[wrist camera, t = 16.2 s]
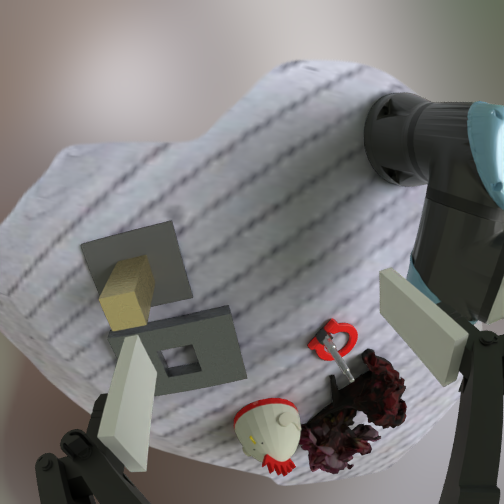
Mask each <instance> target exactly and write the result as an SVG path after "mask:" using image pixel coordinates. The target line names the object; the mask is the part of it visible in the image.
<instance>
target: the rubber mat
mask: <svg viewBox="0 0 504 504" xmlns="http://www.w3.org/2000/svg"><path fill="white" fill-rule="evenodd" d="M81 247H82V250H83V253H84V256H85V259H86V261H87V264H88V267H89V270H90V272H91V275H92V277H93V280H94V283H95V285H96V288H97V290H98V293H99V295H101V293H102V291H103V289H104V287H105V285H106V283H107V281H108V279H109V277H110V275H111V273H112V271H113V269H114V267H115V266H116V264H117V262H118V261H122V260H126V259H130V258H134V257H138V256H143V255H147V258H148V261H149V264H150V268H151V271H152V274H153V277H154V280H155V287H154V292H153V296H152V301H151V306H150V307H153V306H157V305H162V304H167V303H171V302H176V301H180V300H185V299H189V298H193V295H192V292H191V288H190V285H189V282H188V278H187V275H186V271H185V267H184V264H183V260H182V257H181V253H180V249H179V246H178V242H177V238H176V234H175V230H174V227H173V223H172V221H168V222H164V223H159V224H155V225H151V226H147V227H143V228H139V229H135V230H132V231H128V232H124V233H120V234H116V235H112V236H109V237H105V238H101V239H97V240H94V241H90V242H87V243H83V244H81Z"/></svg>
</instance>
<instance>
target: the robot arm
mask: <svg viewBox="0 0 504 504" xmlns="http://www.w3.org/2000/svg"><path fill="white" fill-rule="evenodd" d="M364 143H365V149H366V153H367V156H368V158H369V161H370V163H371V165H372V166H373V168H374V169H375V171H376V172H377V173H378V174H379V175H380V176H381V177H382V178H384V179H385V180H387V181H388V182H391V183H393V184H396V185H399V186H404V187H415V186H420V185H425V184H428V186H427V192H426V197H425V201H424V206H423V211H422V215H421V220H420V224H419V229H418V233H417V237H416V241H415V245H414V248H413V250H412V252H411V255H410V265H409V270H408V274H407V279H405V278H403V277H402V276H401V275H400V274H399V273H397V272H396V271H395V270H394V269H392V268H388V269H385V270H382V271H379V277H380V314H381V315H382V316H383V317H384V318H385V319H386V320H387V322H388V323H389V324H390V325H391V326H392V327H393V328H394V329H395V331H396V332H397V333H398V334H399V335H400V336H401V337H402V339H403V340H404V341H405V342H406V343H407V344H408V346H409V347H410V348H411V349H412V350H413V351H414V353H415V354H416V355H417V356H418V357H419V358H420V360H421V361H422V362H423V363H424V364H425V366H426V367H427V368H428V369H429V370H430V372H431V373H432V374H433V375H434V376H435V378H436V379H437V380H438V381H439V382H440V384H441V385H442V386H443V387H445V386H447V385H449V384H450V383H452V382H454V381H456V379H457V376H458V373H459V371H460V372H461V373H462V375H463V379H462V382H461V385H460V388H459V391H458V392H461V396H460V405H459V412H458V419H457V426H456V432H455V438H454V443H453V449H452V453H451V458H450V462H449V467H448V471H447V475H446V479H445V483H444V487H443V490H442V494H441V497H440V501H439V504H499V500H500V489H499V488H498V487H497V486H496V485H497V477H498V469H499V462H500V453H501V442H502V441H501V440H502V427H503V395H504V334H503V335H499V336H498V335H496V333H494V332H492V331H479V330H478V329H477V328H476V327H475V326H474V324H475V323H476V322H477V321H478V320H479V321H481V322H484V323H486V324H488V325H489V324H491V323H493V322H496V321H498V320H500V319H504V106H502V105H495V104H488V103H486V102H481V101H478V102H436V103H435V102H431V101H429V100H427V99H425V98H422V97H420V96H418V95H415V94H412V93H405V92H403V93H393V94H389V95H386V96H384V97H382V98H381V99H379V100H378V101H377V102H376V103H375V104H374V106H373V107H372V108H371V110H370V112H369V114H368V116H367V119H366V123H365V129H364ZM156 377H157V371H156V370H155V368H154V366H153V364H152V362H151V360H150V358H149V356H148V354H147V352H146V350H145V348H144V346H143V344H142V342H141V340H140V338H139V336H138V335H134V336H129V337H125V339H124V342H123V345H122V349H121V352H120V355H119V358H118V362H117V365H116V368H115V372H114V375H113V379H112V382H111V386H110V389H109V393H107V394H101V395H100V396H99V397H98V399H97V400H96V401H95V404H94V407H93V412H92V414H91V419H90V421H89V425H88V428H87V433H85V432H83V431H82V430H79V429H75V430H71V431H69V432H67V433H66V434H65V435H64V436H63V438H62V439H61V443H60V446H61V449H62V450H63V452H64V453H65V454H66V455H67V457H63V458H60V459H58V458H57V457H56V456H55V455H54V454H52V453H46V454H43V455H42V456H40V457H39V459H38V460H37V462H36V465H35V470H36V478H37V485H38V490H39V496H40V501H41V504H96V502H95V499H94V497H93V494H94V496H95V497H96V499H97V500H98V502H99V503H100V504H151V503H150V502H149V501H148V500H147V499H146V498H145V497H144V495H143V494H142V493H141V492H140V491H139V490H138V489H137V488H136V486H135V485H134V484H133V483H132V482H131V481H130V480H129V478H128V477H127V476H126V475H125V474H124V473H123V471H124V466H125V467H126V468H127V469H128V470H129V471H130V472H141V471H146V468H147V457H148V446H149V436H150V426H151V417H152V408H153V400H154V392H155V384H156Z"/></svg>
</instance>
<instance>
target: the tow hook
mask: <svg viewBox="0 0 504 504" xmlns="http://www.w3.org/2000/svg"><path fill="white" fill-rule="evenodd" d="M329 332H330V333H332V334H335V333H338V332H347V333H349V341H348V343H347V344H346V346H345V347H344V348H342V349H341V350H339V351H337V349H336V346H335V344H334V343H333V341H332V339H333V337H332V335H331V334H330V333H329ZM357 338H358V334H357V330H356V329H355V328H354V327H353V326H352V325H351V324H348V323H339V324H338V323H337V322H336V321H335V320H334V319H333V318H332V319H331V320H330V321H329V322H328V323H327V324H326V325H325V326H324V327H323V328H322V329H321V330H320V331H319V332H318V333H317V334H316V336H315V337H314V338H313V339H312V341H311V342H310V343H309V344H308V345H307V346H308V347H309V348H310V349H311V350H313V349H315V350H316V353H317V355H318V356H319V357H320V358H321V359H323V360H327V361H332V360H335V361H336V363H337V364H338V366H339V368H340V369H341V371H342V372H343V374H345V375H346V376H347V378H348V379H349V381H350V382H353V381H354V380H355V379H354V378H353V376H352V375H351V373H350V369H349V368H348V366H347V365H346V363H345V362H344V360H343V359H342V357H343V356H345V355H346V354H347V353H349V352H350V351H351V350H352V348H353V347H354V346H355V344H356V341H357ZM324 346H325V348H326V349H327V351H328V352H329V353H328V352H326V351H325V350H324Z"/></svg>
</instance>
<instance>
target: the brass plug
mask: <svg viewBox="0 0 504 504" xmlns="http://www.w3.org/2000/svg"><path fill="white" fill-rule="evenodd" d="M154 287H155V280H154V277H153V274H152V271H151V268H150V264H149V261H148V258H147V255H143V256H138V257H134V258H130V259H126V260H122V261H118V262H117V264H116V266H115V267H114V269H113V271H112V273H111V275H110V277H109V279H108V281H107V283H106V285H105V287H104V289H103V291H102V293H101V295H100V297H99V302H100V304H101V306H102V309H103V311H104V313H105V316H106V318H107V320H108V322H109V324H110V327H111V329H112V331H118V330H123V329H128V328H133V327H139V326H144V325H147V322H148V317H149V312H150V306H151V301H152V296H153V292H154Z"/></svg>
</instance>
